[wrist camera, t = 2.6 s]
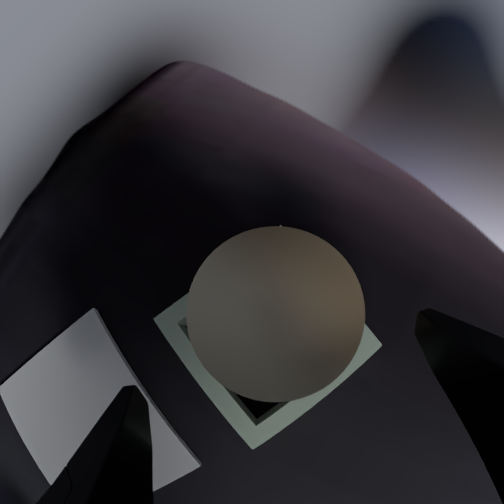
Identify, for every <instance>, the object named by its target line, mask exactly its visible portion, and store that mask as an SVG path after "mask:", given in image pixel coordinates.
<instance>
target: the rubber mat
mask: <svg viewBox="0 0 504 504" xmlns="http://www.w3.org/2000/svg"><path fill="white" fill-rule="evenodd" d="M128 385H136V386H137V387H138V388H139V390H140V391H141V393H142V394H143V396H144V397H145V399H146V400H147V402H148V406H149V417H150V428H151V438H152V453H153V491H155V490H157V489H159V488H161V487H163V486H165V485H167V484H169V483H171V482H173V481H175V480H176V479H178V478H180V477H182V476H184V475H186V474H188V473H189V472H191V471H193V470H195V469H196V468H198V467H200V466H201V465H202V463H201V461H200V460H199V459H198V458H197V457H196V456H195V454H194V453H193V452H192V451H191V450H190V448H189V447H188V446H187V445H186V444H185V442H184V441H183V440H182V439H181V437H180V436H179V435H178V434H177V432H176V431H175V430H174V428H173V427H172V426H171V425H170V423H169V422H168V421H167V419H166V418H165V417H164V415H163V414H162V412H161V411H160V410H159V408H158V407H157V406H156V404H155V403H154V401H153V400H152V399H151V397H150V396H149V394H148V393H147V391H146V390H145V388H144V387H143V385H142V384H141V382H140V381H139V379H138V378H137V376H136V375H135V373H134V372H133V370H132V369H131V367H130V366H129V364H128V362H127V361H126V359H125V358H124V356H123V354H122V353H121V351H120V349H119V348H118V346H117V344H116V343H115V341H114V339H113V338H112V336H111V334H110V332H109V331H108V329H107V327H106V325H105V323H104V322H103V320H102V318H101V316H100V314H99V312H98V311H97V309H95V308H92V309H91V310H90V311H89V312H87V313H86V314H85V315H84V316H82V317H81V318H80V319H79V320H77V321H76V322H75V323H74V324H72V325H71V326H70V327H69V328H68V329H66V330H65V331H64V332H63V333H61V334H60V335H59V336H58V337H57V338H55V339H54V340H53V341H52V342H51V343H49V344H48V345H47V346H46V347H45V348H43V349H42V350H41V351H40V352H39V353H38V354H36V355H35V356H34V357H33V358H32V359H31V360H29V361H28V362H27V363H26V364H25V365H24V366H22V367H21V368H20V369H19V370H18V371H17V372H16V373H15V374H13V375H12V376H11V377H10V378H9V379H8V380H7V381H5V382H4V383H3V384H2V385H1V386H0V395H1V397H2V399H3V401H4V404H5V406H6V408H7V410H8V412H9V414H10V416H11V418H12V420H13V422H14V424H15V426H16V428H17V430H18V432H19V434H20V436H21V438H22V440H23V441H24V443H25V445H26V447H27V448H28V450H29V452H30V454H31V455H32V457H33V459H34V460H35V462H36V464H37V465H38V467H39V468H40V470H41V471H42V473H43V474H44V476H45V478H46V479H47V481H48V482H49V483H50V485H52V484H53V482H54V481H55V480H56V478H57V477H58V476H59V474H60V473H61V472H62V470H63V469H64V467H65V466H67V463H68V462H69V460H70V459H71V457H72V456H73V455H74V453H75V452H76V450H77V449H78V448H79V446H80V445H81V443H82V442H83V441H84V439H85V438H86V436H87V435H88V434H89V432H90V431H91V429H92V428H93V427H94V425H95V424H96V423H97V421H98V420H99V418H100V417H101V416H102V414H103V413H104V412H105V410H106V409H107V407H108V406H109V405H110V403H111V402H112V401H113V399H114V398H115V396H116V395H117V394H118V392H119V391H120V390H121V388H122V387H123V386H128Z"/></svg>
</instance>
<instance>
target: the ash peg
mask: <svg viewBox="0 0 504 504" xmlns="http://www.w3.org/2000/svg"><path fill="white" fill-rule="evenodd" d="M186 323H187V329H188V335H189V338H190V341H191V344H192V347H193V349H194V351H195V353H196V356H197V357H198V359H199V360H200V362H201V363H202V365H203V367H204V368H205V369H206V370H207V371H208V372H209V374H210V375H211V376H212V377H213V378H215V379H216V380H217V381H218V382H219V383H220V384H222V385H223V386H225V387H226V388H228V389H229V390H231V391H233V392H235V393H237V394H239V395H241V396H244V397H247V398H250V399H253V400H258V401H264V402H286V401H293V400H297V399H301V398H304V397H307V396H310V395H312V394H314V393H316V392H318V391H320V390H322V389H324V388H325V387H326V386H328V385H329V384H331V383H332V382H333V381H334V380H335V379H337V378H338V377H339V376H340V375H341V374H342V373H343V371H344V370H345V369H346V368H347V366H348V365H349V364H350V362H351V361H352V359H353V357H354V355H355V354H356V352H357V349H358V347H359V345H360V342H361V338H362V335H363V331H364V323H365V305H364V298H363V294H362V290H361V286H360V284H359V281H358V279H357V277H356V275H355V273H354V271H353V269H352V268H351V266H350V265H349V263H348V262H347V261H346V259H345V258H344V257H343V256H342V255H341V254H340V253H339V252H338V251H337V250H336V249H335V248H334V247H333V246H331V245H330V244H329V243H328V242H326V241H324V240H323V239H321V238H319V237H318V236H315V235H313V234H311V233H309V232H306V231H303V230H299V229H296V228H290V227H280V226H271V227H261V228H256V229H252V230H249V231H246V232H242V233H240V234H238V235H236V236H234V237H232V238H230V239H229V240H227V241H225V242H224V243H222V244H221V245H220V246H219V247H218V248H216V249H215V250H214V251H213V252H212V253H211V254H210V255H209V256H208V257H207V258H206V260H205V261H204V262H203V264H202V265H201V266H200V268H199V270H198V272H197V273H196V275H195V277H194V279H193V282H192V285H191V287H190V290H189V295H188V299H187V307H186Z"/></svg>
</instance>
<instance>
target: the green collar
mask: <svg viewBox="0 0 504 504" xmlns="http://www.w3.org/2000/svg"><path fill="white" fill-rule="evenodd" d="M280 227H282V226H281V225H280ZM188 295H189V293H187V294H186V295H185V296H183V297H182V298H181V299H179V300H178V301H177V302H175V303H174V304H173V305H171V306H170V307H168V308H167V309H166V310H164V311H163V312H162V313H160V314H159V315H158V316H156V317H155V318H154V321H155V322H156V324H157V325H158V327H159V328H160V330H161V331H162V333H163V334H164V336H165V337H166V339H167V340H168V342H169V343H170V345H171V346H172V348H173V349H174V351H175V352H176V353H177V355H178V356H179V358H180V359H181V360H182V362H183V363H184V365H185V366H186V367H187V369H188V370H189V372H190V373H191V374H192V376H193V377H194V378H195V380H196V381H197V382H198V384H199V385H200V386H201V388H202V389H203V390H204V392H205V393H206V394H207V395H208V397H209V398H210V399H211V401H212V402H213V403H214V404H215V406H216V407H217V408H218V409H219V411H220V412H221V413H222V414H223V416H224V417H225V418H226V419H227V421H228V422H229V423H230V424H231V425H232V427H233V428H234V429H235V430H236V431H237V433H238V434H239V435H240V436H241V437H242V438H243V440H244V441H245V442H246V443H247V444H248V445H249V446H250V448H251V449H252V450H253V449H255V448H256V447H258V446H259V445H261V444H262V443H264V442H265V441H267V440H268V439H269V438H271V437H272V436H274V435H275V434H277V433H278V432H279V431H281V430H282V429H284V428H285V427H286V426H288V425H289V424H290V423H292V422H293V421H294V420H296V419H297V418H298V417H300V416H301V415H302V414H304V413H305V412H306V411H308V410H309V409H310V408H311V407H313V406H314V405H315V404H316V403H318V402H319V401H320V400H321V399H323V398H324V397H325V396H326V395H328V394H329V393H330V392H331V391H332V390H333V389H335V388H336V387H337V386H338V385H339V384H341V383H342V382H343V381H344V380H345V379H346V378H347V377H349V376H350V375H351V374H352V373H353V372H354V371H355V370H356V369H358V368H359V367H360V366H361V365H362V364H363V363H364V362H365V361H366V360H367V359H368V358H369V357H371V356H372V355H373V354H374V353H375V352H376V351H377V350H378V349H379V348H380V347H381V346H382V344H381V343H380V342H379V340H378V339H377V338H376V337H375V335H374V334H373V333H372V332H371V330H370V329H369V328H368V327H367V326H366V324H365V323H364V331H363V335H362V338H361V342H360V345H359V347H358V349H357V352H356V354H355V355H354V357H353V359H352V361H351V362H350V364H349V365H348V366H347V368H346V369H345V370H344V371H343V373H342V374H341V375H340V376H339V377H338V378H337V379H335V380H334V381H333V382H332V383H331V384H329V385H328V386H326V387H325V388H324V389H322V390H320V391H318V392H316V393H314V394H312V395H310V396H307V397H304V398H301V399H297V400H293V401H286V402H280V403H278V404H277V405H275V406H274V407H273V408H271V409H270V410H269V411H267V412H266V413H264V414H263V415H262V416H260V417H259V418H257V419H256V418H255V417H254V415H253V414H252V413H251V412H250V411H249V409H248V408H247V407H246V406H245V404H244V403H243V402H242V401H241V400H240V398H239V397H238V396H237V395H236V393H235V392H233V391H231V390H229V389H228V388H226V387H225V386H223V385H222V384H220V383H219V382H218V381H217V380H216V379H215V378H213V377H212V376H211V375H210V374H209V372H208V371H207V370H206V369H205V368H204V367H203V365H202V363H201V362H200V360H199V359H198V357H197V356H196V353H195V351H194V349H193V347H192V344H191V341H190V338H189V335H188V330H187V328H186V326H187V323H186V307H187V299H188Z"/></svg>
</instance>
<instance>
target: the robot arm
mask: <svg viewBox="0 0 504 504" xmlns="http://www.w3.org/2000/svg"><path fill="white" fill-rule="evenodd" d="M415 336H416V338H417V340H418V342H419V344H420V346H421V348H422V351H423V353H424V355H425V357H426V359H427V361H428V363H429V365H430V367H431V369H432V371H433V373H434V375H435V376H436V378H437V380H438V381H439V383H440V385H441V386H442V388H443V390H444V391H445V393H446V395H447V396H448V398H449V400H450V401H451V403H452V405H453V407H454V408H455V410H456V412H457V414H458V415H459V417H460V419H461V421H462V423H463V424H464V426H465V428H466V430H467V432H468V433H469V435H470V437H471V439H472V441H473V443H474V445H475V447H476V448H477V450H478V452H479V454H480V456H481V458H482V460H483V462H484V464H485V467H486V469H487V471H488V473H489V475H490V477H491V479H492V481H493V483H494V485H495V487H496V490H497V492H498V494H499V496H500V498H501V501H502V503H503V504H504V338H503V337H500V336H498V335H495V334H493V333H491V332H488V331H486V330H483V329H481V328H478V327H476V326H473V325H471V324H469V323H466V322H464V321H461V320H459V319H456V318H454V317H451V316H449V315H446V314H444V313H441V312H439V311H436V310H434V309H431V308H426V309H424V310H421V311H419V312H418V314H417V319H416V325H415ZM36 504H153V453H152V438H151V428H150V417H149V406H148V402H147V400H146V399H145V397H144V396H143V394H142V393H141V391H140V390H139V388H138V387H137V386H136V385H128V386H123V387H122V388H121V390H120V391H119V392H118V394H117V395H116V396H115V398H114V399H113V401H112V402H111V403H110V405H109V406H108V407H107V409H106V410H105V412H104V413H103V414H102V416H101V417H100V418H99V420H98V421H97V423H96V424H95V425H94V427H93V428H92V429H91V431H90V432H89V434H88V435H87V436H86V438H85V439H84V441H83V442H82V443H81V445H80V446H79V448H78V449H77V450H76V452H75V453H74V455H73V456H72V457H71V459H70V460H69V462H68V463H67V466H65V467H64V469H63V470H62V472H61V473H60V474H59V476H58V477H57V478H56V480H55V481H54V482H53V484H52V485H51V486H50V488H49V489H48V490H47V491H46V492H45V494H44V495H43V496H42V497H41V498H40V499H39V501H38V502H37V503H36Z"/></svg>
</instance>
